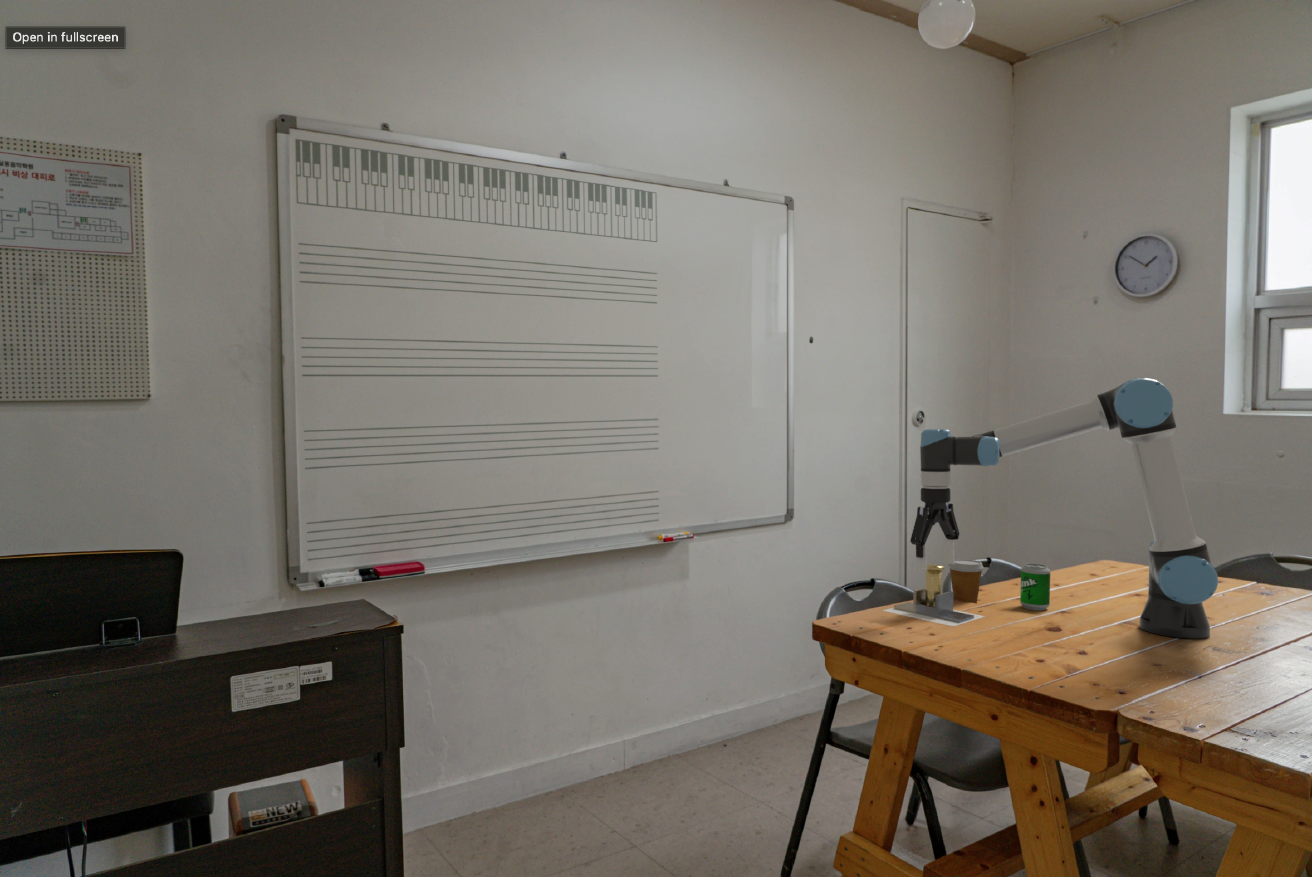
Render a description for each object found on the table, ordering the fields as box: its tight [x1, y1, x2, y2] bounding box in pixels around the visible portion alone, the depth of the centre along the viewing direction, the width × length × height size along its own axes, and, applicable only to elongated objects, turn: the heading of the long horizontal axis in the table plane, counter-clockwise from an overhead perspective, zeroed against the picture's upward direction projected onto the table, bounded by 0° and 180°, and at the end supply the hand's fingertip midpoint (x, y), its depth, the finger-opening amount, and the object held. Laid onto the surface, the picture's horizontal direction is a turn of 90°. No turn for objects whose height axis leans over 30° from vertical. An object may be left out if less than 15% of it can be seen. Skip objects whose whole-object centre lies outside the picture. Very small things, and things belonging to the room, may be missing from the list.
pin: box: [925, 563, 945, 607], centre depth 221 cm, size 5×5×13 cm
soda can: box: [1019, 563, 1051, 611], centre depth 233 cm, size 8×8×12 cm
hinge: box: [893, 587, 974, 623], centre depth 221 cm, size 19×7×6 cm, turn 41°
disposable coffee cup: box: [947, 558, 984, 604], centre depth 238 cm, size 10×10×12 cm
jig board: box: [882, 607, 986, 628], centre depth 221 cm, size 21×16×1 cm
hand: (935, 566), depth 220 cm, fingers open, 13 cm apart
